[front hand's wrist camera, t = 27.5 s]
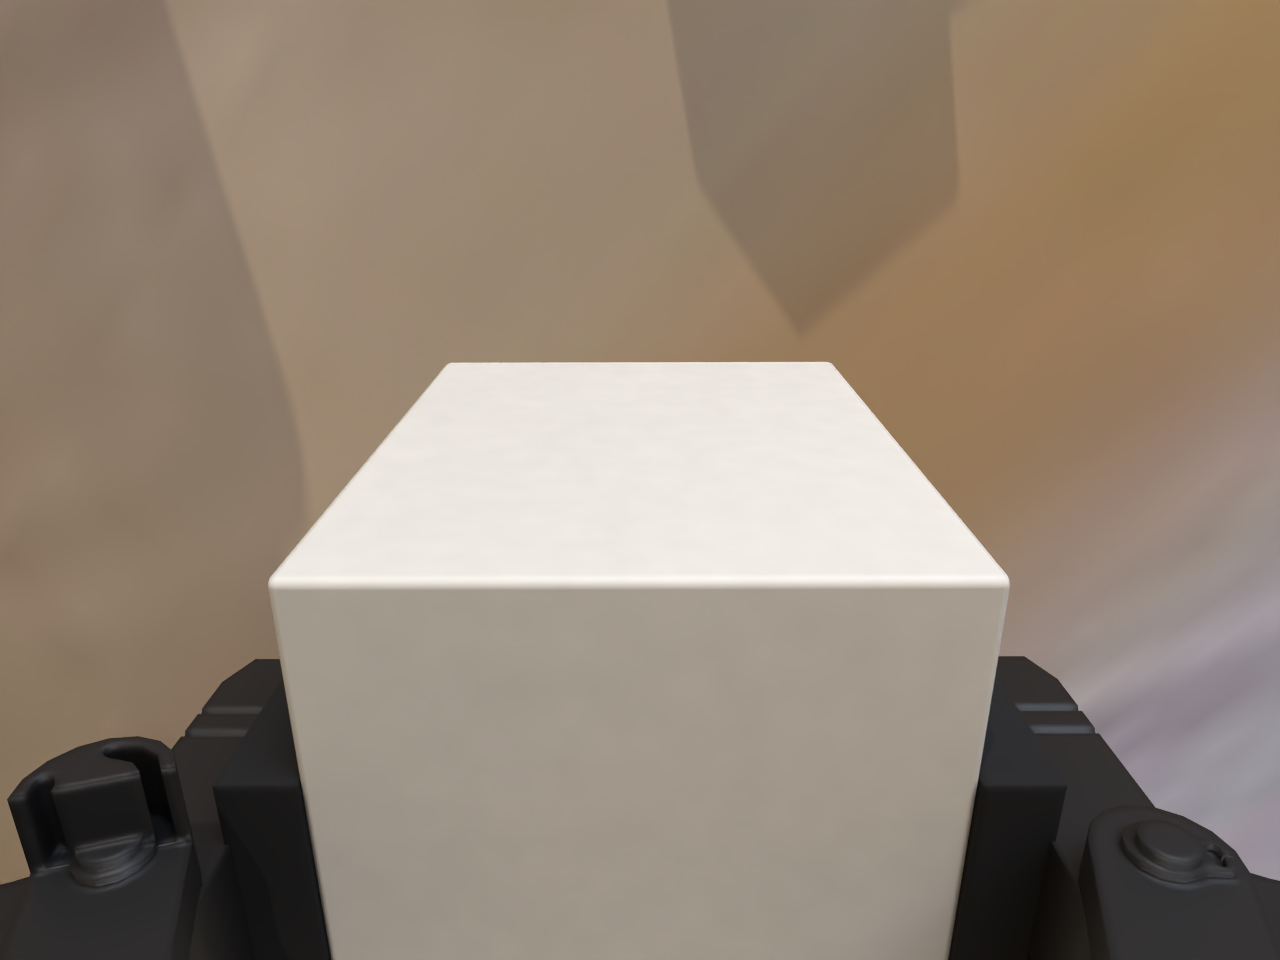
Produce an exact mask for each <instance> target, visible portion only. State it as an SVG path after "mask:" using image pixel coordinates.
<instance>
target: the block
mask: <svg viewBox="0 0 1280 960" xmlns="http://www.w3.org/2000/svg"><path fill="white" fill-rule="evenodd" d="M1009 589H1010V582H1009V579H1008V576H1007V575H1006V573H1005V572H1004V571H1003V570H1002V569H1001V567H1000V566H999V565H998V564H997V563H996V561H995V560H994V559H993V558H992V557H991V555H990V554H989V553H988V552H987V551H986V549H985V548H984V547H983V546H982V544H981V543H980V542H979V541H978V540H977V538H976V537H975V536H974V535H973V534H972V532H971V531H970V530H969V529H968V528H967V526H966V525H965V524H964V523H963V522H962V520H961V519H960V518H959V517H958V516H957V514H956V513H955V512H954V511H953V509H952V508H951V507H950V506H949V505H948V503H947V502H946V501H945V500H944V499H943V497H942V496H941V495H940V494H939V493H938V491H937V490H936V489H935V488H934V487H933V485H932V484H931V483H930V482H929V481H928V479H927V478H926V477H925V476H924V474H923V473H922V472H921V471H920V470H919V468H918V467H917V466H916V465H915V464H914V462H913V461H912V460H911V459H910V458H909V456H908V455H907V454H906V453H905V452H904V450H903V449H902V448H901V447H900V445H899V444H898V443H897V442H896V441H895V439H894V438H893V437H892V436H891V435H890V433H889V432H888V431H887V430H886V429H885V427H884V426H883V425H882V424H881V423H880V421H879V420H878V419H877V418H876V417H875V415H874V414H873V413H872V412H871V410H870V409H869V408H868V407H867V406H866V404H865V403H864V402H863V401H862V400H861V398H860V397H859V396H858V395H857V394H856V392H855V391H854V390H853V389H852V388H851V386H850V385H849V384H848V383H847V382H846V380H845V379H844V378H843V377H842V375H841V374H840V373H839V372H838V371H837V369H836V368H835V367H834V366H833V365H832V364H831V363H829V362H622V363H449V364H447V365H446V366H445V367H444V369H443V370H442V371H441V372H440V373H439V375H438V376H437V377H436V378H435V379H434V381H433V382H432V383H431V384H430V385H429V387H428V388H427V389H426V390H425V391H424V393H423V394H422V395H421V396H420V397H419V399H418V400H417V401H416V402H415V403H414V405H413V406H412V407H411V408H410V409H409V411H408V412H407V413H406V414H405V416H404V417H403V418H402V419H401V420H400V422H399V423H398V424H397V425H396V426H395V428H394V429H393V430H392V431H391V432H390V434H389V435H388V436H387V437H386V438H385V440H384V441H383V442H382V443H381V444H380V446H379V447H378V448H377V449H376V450H375V452H374V453H373V454H372V455H371V456H370V458H369V459H368V460H367V461H366V463H365V464H364V465H363V466H362V467H361V469H360V470H359V471H358V472H357V473H356V475H355V476H354V477H353V478H352V479H351V481H350V482H349V483H348V484H347V485H346V487H345V488H344V489H343V490H342V491H341V493H340V494H339V495H338V496H337V497H336V499H335V500H334V501H333V502H332V503H331V505H330V506H329V507H328V508H327V510H326V511H325V512H324V513H323V514H322V516H321V517H320V518H319V519H318V520H317V522H316V523H315V524H314V525H313V526H312V528H311V529H310V530H309V531H308V532H307V534H306V535H305V536H304V537H303V538H302V540H301V541H300V542H299V543H298V544H297V546H296V547H295V548H294V549H293V550H292V552H291V553H290V554H289V555H288V556H287V558H286V559H285V560H284V561H283V563H282V564H281V565H280V566H279V567H278V569H277V570H276V571H275V572H274V573H273V575H272V576H271V577H270V579H269V582H268V592H269V598H270V604H271V610H272V616H273V622H274V628H275V633H276V639H277V645H278V651H279V657H280V663H281V669H282V674H283V680H284V686H285V692H286V698H287V704H288V709H289V715H290V721H291V727H292V733H293V739H294V745H295V750H296V756H297V762H298V768H299V774H300V780H301V785H302V791H303V797H304V803H305V809H306V815H307V821H308V826H309V832H310V838H311V844H312V850H313V856H314V862H315V867H316V873H317V879H318V885H319V891H320V897H321V902H322V908H323V914H324V920H325V926H326V932H327V938H328V943H329V949H330V955H331V960H948V959H949V953H950V947H951V941H952V935H953V929H954V923H955V917H956V911H957V905H958V898H959V892H960V886H961V880H962V874H963V868H964V862H965V856H966V850H967V844H968V838H969V832H970V826H971V820H972V814H973V808H974V801H975V795H976V789H977V783H978V777H979V771H980V765H981V759H982V753H983V747H984V741H985V735H986V729H987V723H988V717H989V711H990V704H991V698H992V692H993V686H994V680H995V674H996V668H997V662H998V656H999V650H1000V644H1001V638H1002V632H1003V626H1004V620H1005V614H1006V607H1007V601H1008V595H1009Z"/></svg>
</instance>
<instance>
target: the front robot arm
mask: <svg viewBox="0 0 1280 960" xmlns="http://www.w3.org/2000/svg"><path fill="white" fill-rule="evenodd" d="M7 800H8V804H9V807H10V810H11V813H12V816H13V819H14V822H15V826H16V829H17V832H18V835H19V838H20V841H21V844H22V848H23V851H24V854H25V857H26V860H27V863H28V866H29V870H30V873H31V874H30V876H29V877H27V878H24V879H20V880H17V881H14V882H10V883H6V884H1V885H0V960H331V955H330V949H329V943H328V938H327V932H326V926H325V920H324V914H323V908H322V902H321V897H320V891H319V885H318V879H317V873H316V867H315V862H314V856H313V850H312V844H311V838H310V832H309V826H308V821H307V815H306V809H305V803H304V797H303V791H302V785H301V780H300V774H299V768H298V762H297V756H296V750H295V745H294V739H293V733H292V727H291V721H290V715H289V709H288V704H287V698H286V692H285V686H284V680H283V674H282V669H281V663H280V659H255V660H254V661H252V662H251V663H249V664H248V665H247V666H245V667H244V668H242V669H241V670H239V671H238V672H236V673H235V674H233V675H232V676H231V677H229V678H228V679H226V680H225V681H223V682H222V683H221V685H220V686H219V687H218V688H217V690H216V691H215V692H214V694H213V695H212V696H211V698H210V699H209V700H208V702H207V703H206V704H205V706H204V707H203V708H202V714H198V715H197V716H196V718H195V719H194V720H193V722H192V723H191V724H190V725H189V727H188V728H187V729H186V731H185V737H180V739H179V740H178V741H177V743H176V744H175V745H174V747H173V748H172V749H170V748H168V747H167V746H166V745H165V744H163V743H162V742H161V741H158V740H153V739H148V738H143V737H138V736H137V737H123V738H109V739H105V740H102V741H98V742H94V743H91V744H87V745H83V746H80V747H77V748H75V749H72V750H70V751H68V752H66V753H64V754H62V755H60V756H57V757H55V758H53V759H51V760H49V761H47V762H46V763H44V764H43V765H42V766H40V767H39V768H37V769H36V770H35V771H33V772H32V773H31V774H29V775H28V776H27V777H25V778H24V779H23V780H22V781H21V782H20V783H19V785H18V786H17V787H16V789H15V790H14V791H13V792H12V794H11V795H10V796H9V798H8V799H7ZM948 960H1280V881H1277V880H1273V879H1269V878H1266V877H1262V876H1259V875H1255V874H1252V873H1250V872H1249V871H1248V869H1247V868H1246V866H1245V865H1244V863H1243V862H1242V860H1241V859H1240V857H1239V856H1238V854H1237V853H1236V851H1235V850H1234V849H1232V848H1231V847H1230V846H1229V845H1228V844H1226V843H1225V842H1224V841H1223V840H1222V839H1220V838H1219V837H1218V836H1217V835H1216V834H1214V833H1213V832H1212V831H1210V830H1208V829H1206V828H1204V827H1203V826H1201V825H1199V824H1197V823H1195V822H1193V821H1191V820H1189V819H1187V818H1185V817H1184V816H1181V815H1177V814H1174V813H1171V812H1168V811H1164V810H1161V809H1158V808H1155V807H1154V805H1153V804H1152V803H1151V801H1150V800H1149V799H1148V797H1147V796H1146V795H1145V793H1144V792H1143V791H1142V789H1141V788H1140V787H1139V786H1138V784H1137V783H1136V782H1135V780H1134V779H1133V778H1132V776H1131V775H1130V774H1129V772H1128V771H1127V770H1126V768H1125V767H1124V766H1123V764H1122V763H1121V762H1120V761H1119V759H1118V758H1117V757H1116V755H1115V754H1114V753H1113V751H1112V750H1111V749H1110V747H1109V746H1108V745H1107V743H1106V742H1105V741H1104V740H1103V738H1102V737H1101V736H1100V734H1095V728H1094V726H1093V725H1092V724H1091V722H1090V721H1089V720H1088V719H1087V717H1086V716H1085V715H1084V713H1083V712H1082V711H1078V705H1077V704H1076V703H1075V701H1074V700H1073V699H1072V697H1071V696H1070V695H1069V694H1068V692H1067V691H1066V690H1065V688H1064V687H1063V686H1062V684H1061V683H1060V682H1059V680H1058V679H1057V678H1055V677H1054V676H1052V675H1051V674H1049V673H1048V672H1046V671H1045V670H1043V669H1042V668H1040V667H1039V666H1037V665H1036V664H1035V663H1033V662H1032V661H1030V660H1029V659H1027V658H1026V657H1024V656H998V662H997V668H996V674H995V680H994V686H993V692H992V698H991V704H990V711H989V717H988V723H987V729H986V735H985V741H984V747H983V753H982V759H981V765H980V771H979V777H978V783H977V789H976V795H975V801H974V808H973V814H972V820H971V826H970V832H969V838H968V844H967V850H966V856H965V862H964V868H963V874H962V880H961V886H960V892H959V898H958V905H957V911H956V917H955V923H954V929H953V935H952V941H951V947H950V953H949V959H948Z"/></svg>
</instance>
